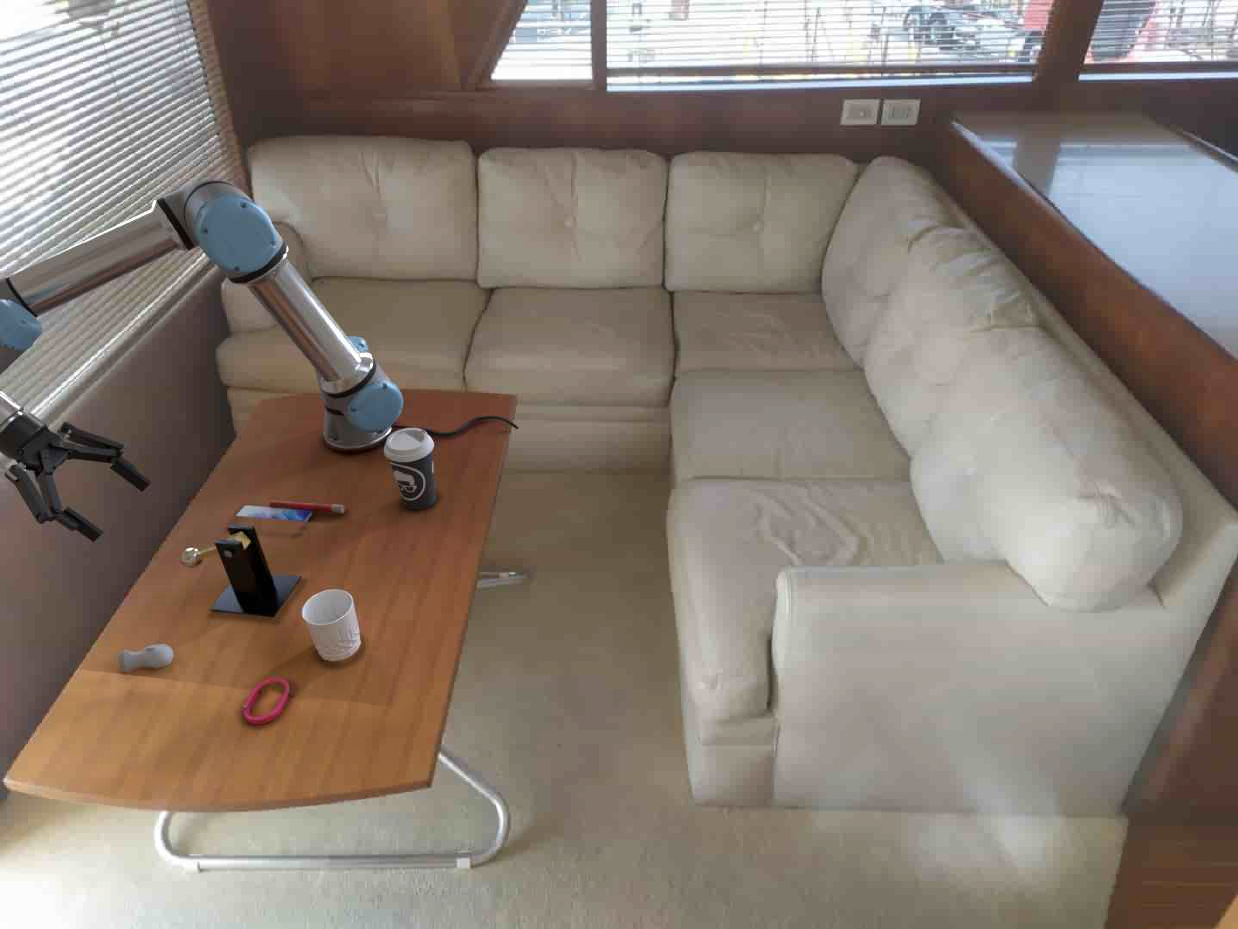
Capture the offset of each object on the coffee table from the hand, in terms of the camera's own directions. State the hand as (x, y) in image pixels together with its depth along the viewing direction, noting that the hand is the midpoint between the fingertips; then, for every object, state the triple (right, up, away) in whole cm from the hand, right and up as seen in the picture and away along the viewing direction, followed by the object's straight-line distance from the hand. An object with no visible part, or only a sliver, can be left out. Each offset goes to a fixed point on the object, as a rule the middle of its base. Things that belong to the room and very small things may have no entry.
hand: (124, 511), depth 144 cm
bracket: (+20, -16, +7) cm, 26 cm away
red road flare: (+21, -1, +26) cm, 34 cm away
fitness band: (+30, -29, -12) cm, 43 cm away
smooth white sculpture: (+7, -25, -5) cm, 26 cm away
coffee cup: (+43, 0, +29) cm, 52 cm away
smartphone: (+15, -3, +24) cm, 29 cm away
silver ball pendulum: (+15, -8, +2) cm, 17 cm away
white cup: (+38, -23, -4) cm, 44 cm away
